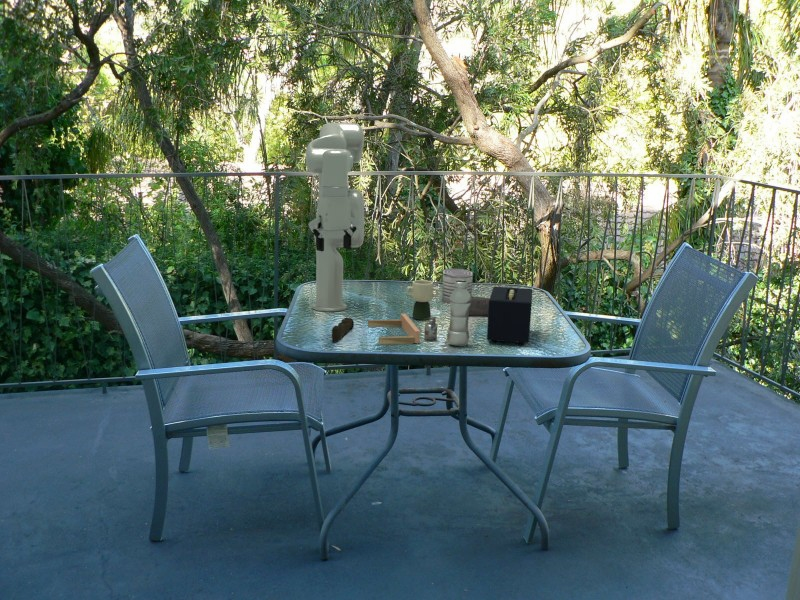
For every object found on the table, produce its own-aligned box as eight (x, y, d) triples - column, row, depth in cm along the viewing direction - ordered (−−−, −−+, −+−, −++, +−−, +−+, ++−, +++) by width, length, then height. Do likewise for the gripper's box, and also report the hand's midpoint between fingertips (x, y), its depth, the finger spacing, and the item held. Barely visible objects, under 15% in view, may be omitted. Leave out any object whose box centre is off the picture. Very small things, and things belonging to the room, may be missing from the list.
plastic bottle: (445, 342, 260) (448, 279, 255) (467, 342, 260) (470, 279, 256) (448, 347, 253) (451, 283, 249) (470, 348, 254) (473, 283, 250)
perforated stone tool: (499, 314, 299) (500, 295, 298) (501, 318, 294) (502, 298, 293) (457, 313, 299) (458, 294, 297) (459, 316, 294) (460, 297, 292)
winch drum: (422, 338, 264) (423, 312, 262) (435, 337, 264) (436, 312, 263) (427, 343, 258) (428, 317, 256) (439, 342, 259) (440, 317, 257)
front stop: (400, 325, 279) (400, 313, 278) (405, 325, 279) (405, 313, 278) (414, 343, 257) (415, 331, 256) (419, 343, 257) (420, 331, 256)
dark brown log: (342, 328, 273) (342, 314, 272) (353, 329, 272) (354, 315, 271) (324, 343, 255) (324, 328, 254) (336, 344, 254) (337, 329, 253)
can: (469, 299, 322) (470, 268, 319) (473, 306, 311) (475, 274, 308) (439, 298, 321) (441, 268, 319) (443, 305, 310) (444, 273, 308)
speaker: (491, 327, 280) (493, 284, 276) (529, 330, 277) (532, 286, 274) (486, 344, 259) (489, 297, 255) (528, 347, 257) (531, 300, 253)
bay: (367, 325, 277) (368, 320, 276) (400, 325, 279) (400, 319, 278) (379, 344, 255) (379, 338, 254) (414, 343, 257) (415, 337, 256)
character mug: (437, 317, 292) (438, 280, 289) (437, 322, 285) (438, 284, 282) (406, 315, 292) (407, 279, 289) (405, 320, 285) (406, 283, 282)
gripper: (351, 190, 256) (350, 246, 260) (302, 192, 246) (302, 249, 249) (365, 192, 250) (364, 249, 254) (316, 194, 240) (316, 253, 243)
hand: (333, 249), depth 251 cm, fingers open, 9 cm apart
